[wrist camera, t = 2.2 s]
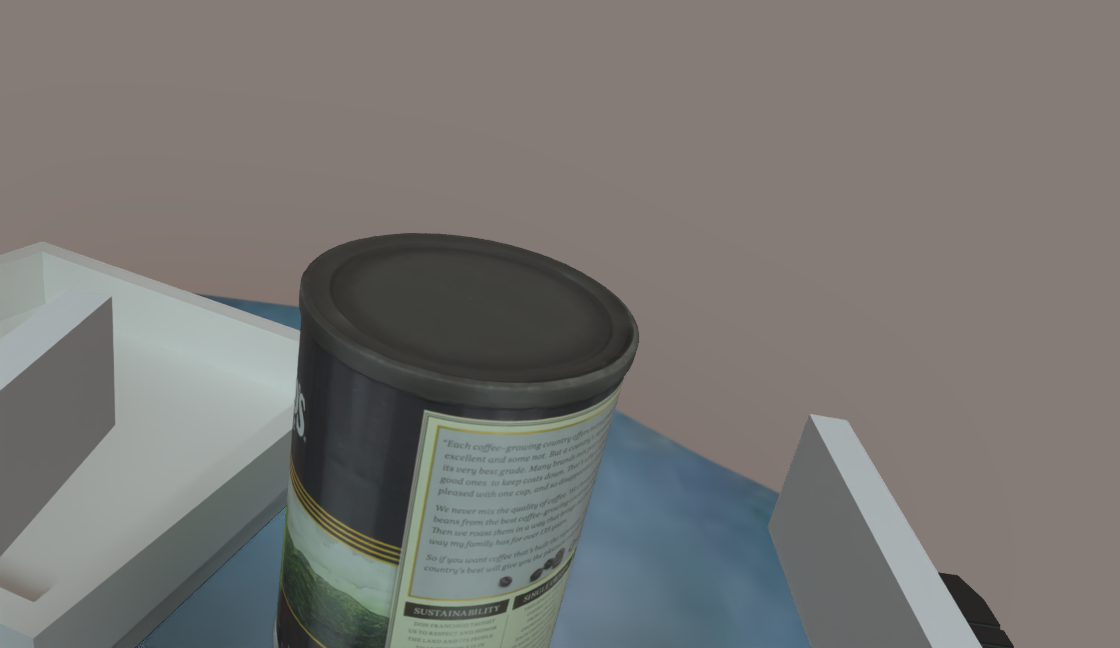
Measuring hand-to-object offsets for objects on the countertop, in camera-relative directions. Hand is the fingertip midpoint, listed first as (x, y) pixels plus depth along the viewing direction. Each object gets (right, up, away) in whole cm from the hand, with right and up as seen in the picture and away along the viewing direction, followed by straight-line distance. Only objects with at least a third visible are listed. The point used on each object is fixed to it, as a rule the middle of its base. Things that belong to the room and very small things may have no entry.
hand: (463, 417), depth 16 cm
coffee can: (-4, -10, +16) cm, 19 cm away
